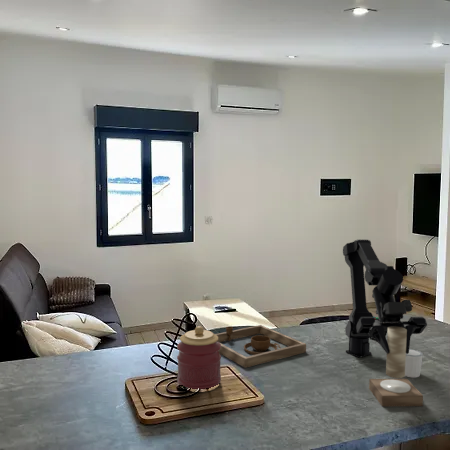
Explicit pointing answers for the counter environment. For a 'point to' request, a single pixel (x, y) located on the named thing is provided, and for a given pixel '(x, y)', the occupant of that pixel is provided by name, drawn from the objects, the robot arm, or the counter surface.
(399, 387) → the walnut plinth
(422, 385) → the counter surface
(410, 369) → the white short cylinder
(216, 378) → the canister
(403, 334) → the birch pillar
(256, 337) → the place setting
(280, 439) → the counter surface
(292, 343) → the oak tray rim
